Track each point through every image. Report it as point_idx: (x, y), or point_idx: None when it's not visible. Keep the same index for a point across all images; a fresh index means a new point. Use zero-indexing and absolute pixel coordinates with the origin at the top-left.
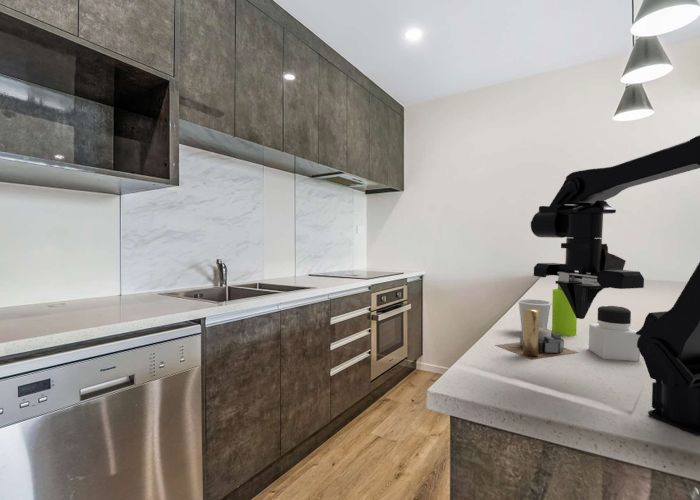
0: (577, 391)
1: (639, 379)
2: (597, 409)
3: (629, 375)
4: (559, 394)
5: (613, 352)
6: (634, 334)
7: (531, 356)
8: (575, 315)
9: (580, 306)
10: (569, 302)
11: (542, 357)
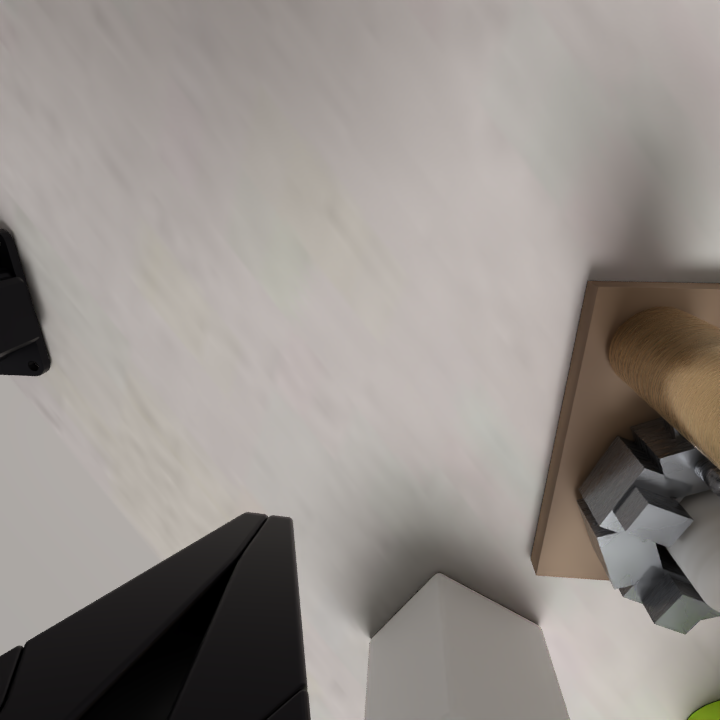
0: (241, 178)
1: None
2: (71, 78)
3: (311, 527)
4: (232, 46)
5: (418, 632)
6: None
7: None
8: (288, 529)
9: (91, 608)
10: (291, 662)
11: (585, 370)
